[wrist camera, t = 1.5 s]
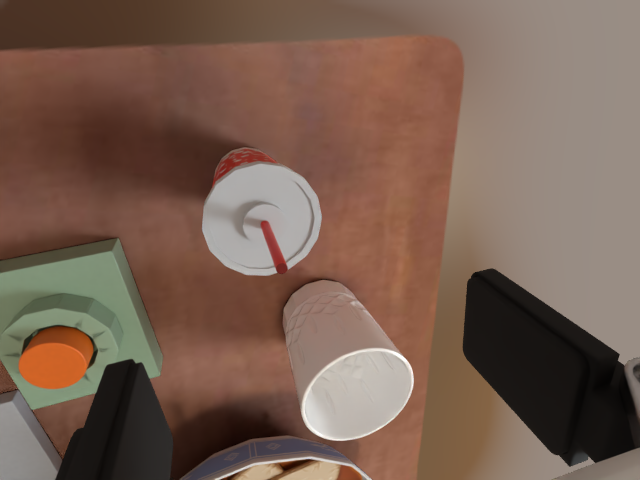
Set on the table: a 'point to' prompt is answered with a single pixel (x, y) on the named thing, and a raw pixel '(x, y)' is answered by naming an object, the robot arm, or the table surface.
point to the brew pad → (75, 313)
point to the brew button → (56, 357)
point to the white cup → (342, 363)
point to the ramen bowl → (277, 462)
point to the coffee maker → (24, 443)
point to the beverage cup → (259, 214)
